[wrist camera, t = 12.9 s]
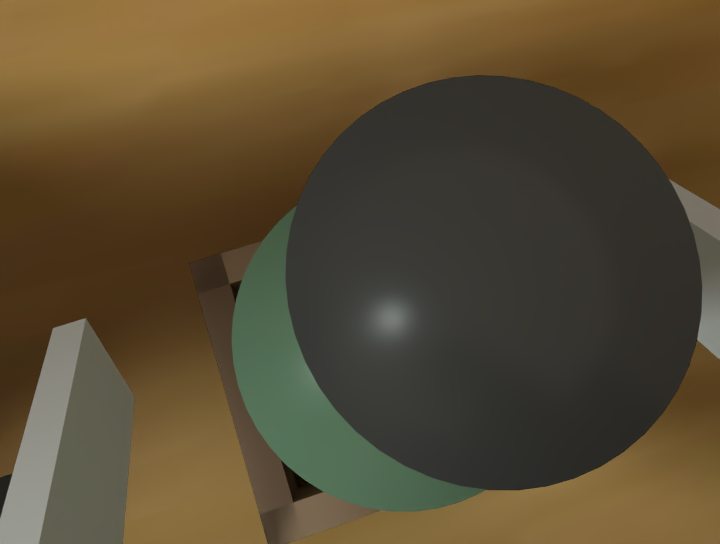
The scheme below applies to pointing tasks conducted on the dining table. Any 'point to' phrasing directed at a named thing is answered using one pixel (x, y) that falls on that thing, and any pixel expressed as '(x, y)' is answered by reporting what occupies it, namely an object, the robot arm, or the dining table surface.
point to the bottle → (468, 299)
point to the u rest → (265, 469)
